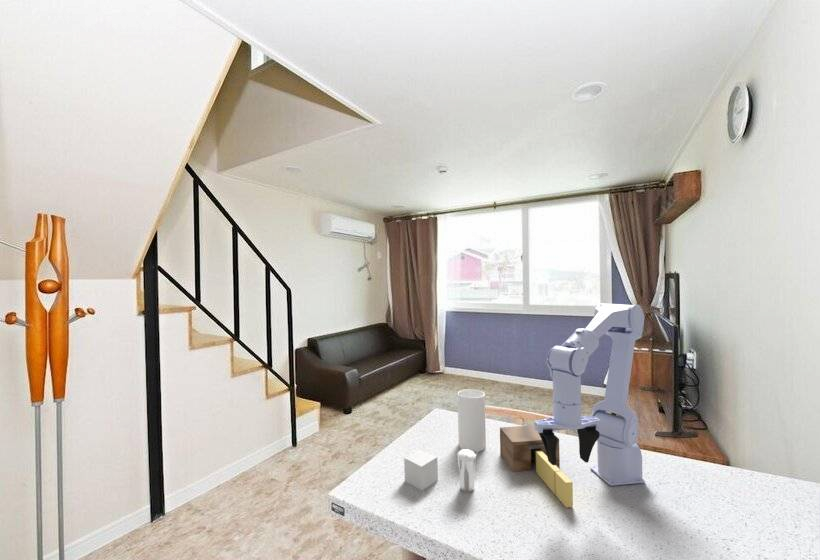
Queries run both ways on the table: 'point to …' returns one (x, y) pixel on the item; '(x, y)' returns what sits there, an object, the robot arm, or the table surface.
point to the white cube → (421, 469)
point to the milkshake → (466, 469)
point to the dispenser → (522, 447)
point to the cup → (471, 420)
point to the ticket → (555, 479)
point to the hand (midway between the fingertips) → (568, 461)
